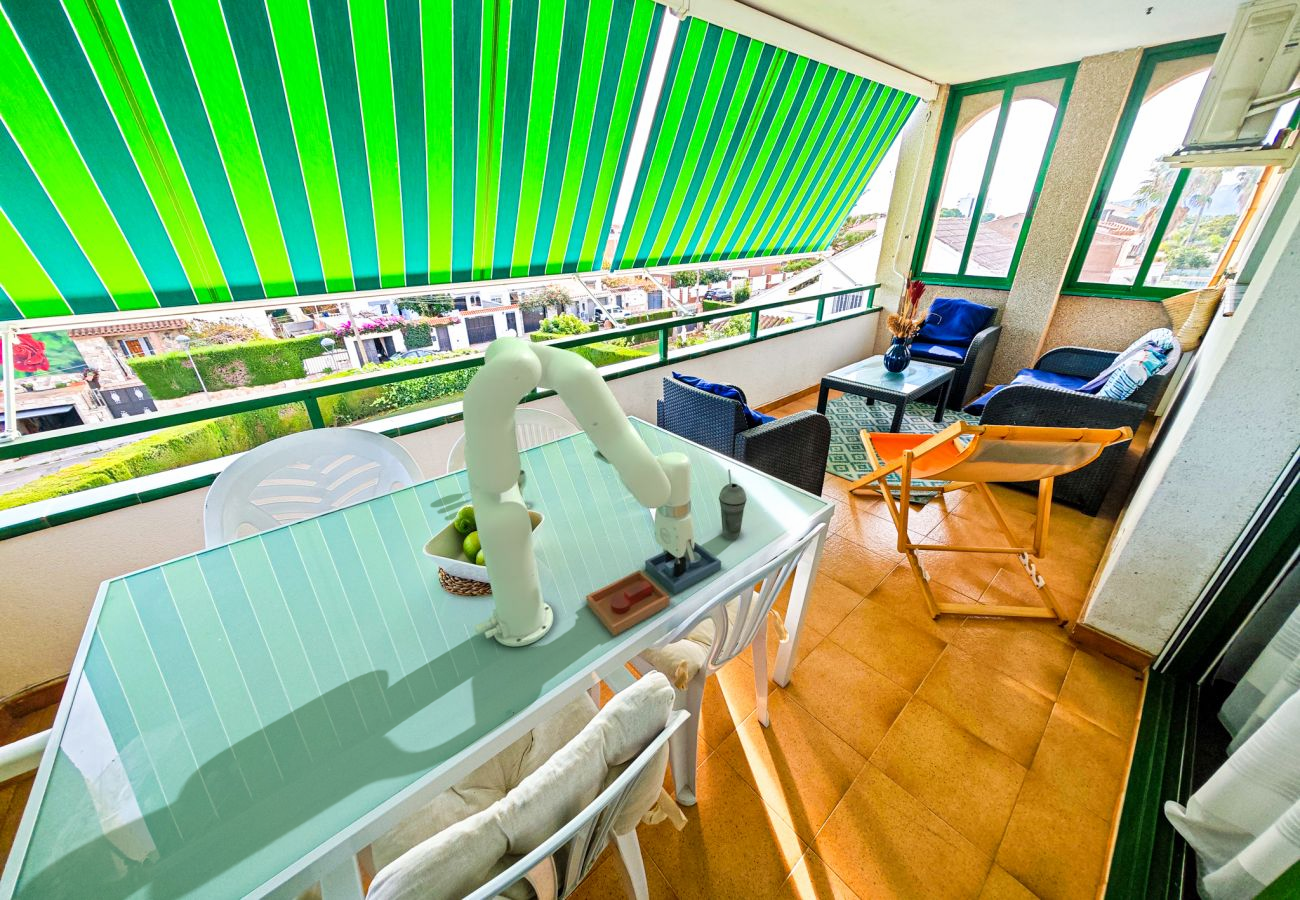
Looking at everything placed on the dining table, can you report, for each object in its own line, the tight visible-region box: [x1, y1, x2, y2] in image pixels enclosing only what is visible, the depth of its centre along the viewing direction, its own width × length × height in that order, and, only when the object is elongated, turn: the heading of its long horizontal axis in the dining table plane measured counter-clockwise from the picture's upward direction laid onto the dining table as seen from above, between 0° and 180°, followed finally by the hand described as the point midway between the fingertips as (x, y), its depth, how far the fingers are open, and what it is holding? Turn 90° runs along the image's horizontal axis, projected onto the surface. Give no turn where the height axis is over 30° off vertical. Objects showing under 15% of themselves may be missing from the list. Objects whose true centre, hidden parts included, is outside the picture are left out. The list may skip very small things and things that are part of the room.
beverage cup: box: [718, 468, 748, 541], centre depth 121 cm, size 7×7×20 cm
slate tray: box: [644, 541, 722, 595], centre depth 113 cm, size 15×12×2 cm
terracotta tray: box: [585, 569, 670, 637], centre depth 102 cm, size 15×12×2 cm
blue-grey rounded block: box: [665, 552, 701, 578], centre depth 112 cm, size 10×4×3 cm, turn 126°
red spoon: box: [610, 581, 652, 614], centre depth 102 cm, size 10×4×3 cm, turn 126°
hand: (675, 569), depth 112 cm, fingers closed
